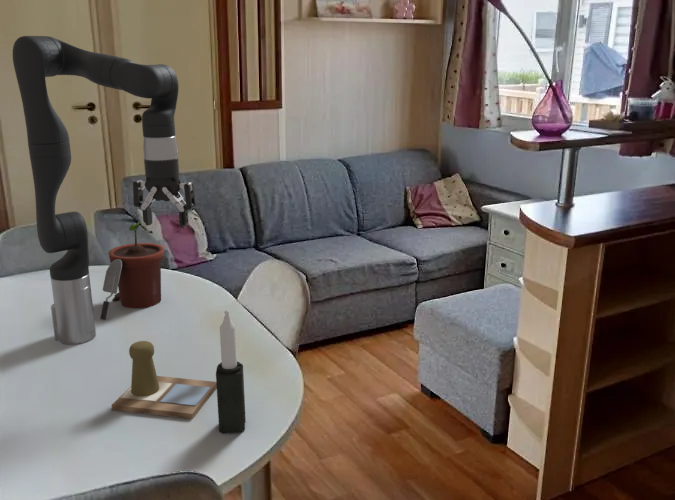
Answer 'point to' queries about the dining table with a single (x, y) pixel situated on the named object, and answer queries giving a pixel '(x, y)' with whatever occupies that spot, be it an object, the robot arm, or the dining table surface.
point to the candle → (230, 382)
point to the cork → (143, 369)
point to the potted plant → (134, 275)
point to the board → (169, 398)
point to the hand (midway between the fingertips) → (166, 225)
